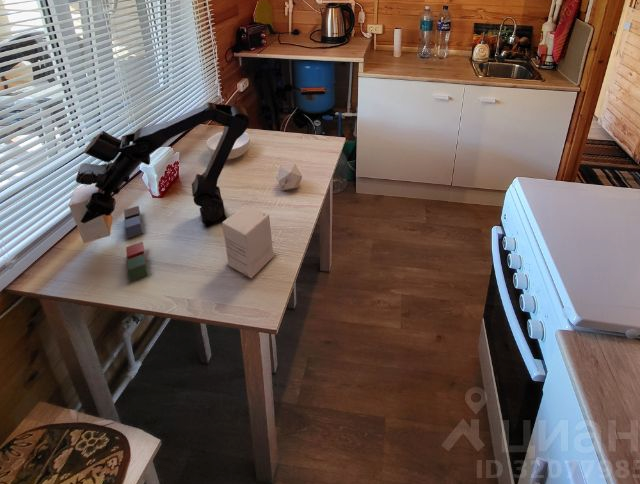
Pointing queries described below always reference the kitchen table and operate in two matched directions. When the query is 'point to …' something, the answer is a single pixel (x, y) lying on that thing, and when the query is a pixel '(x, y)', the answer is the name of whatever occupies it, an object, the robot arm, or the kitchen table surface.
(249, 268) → the rectangular carton
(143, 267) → the dark green block
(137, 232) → the slate blue block
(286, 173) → the die
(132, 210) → the walnut block
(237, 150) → the cereal bowl
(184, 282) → the kitchen table surface
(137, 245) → the brick red block
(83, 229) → the small box
